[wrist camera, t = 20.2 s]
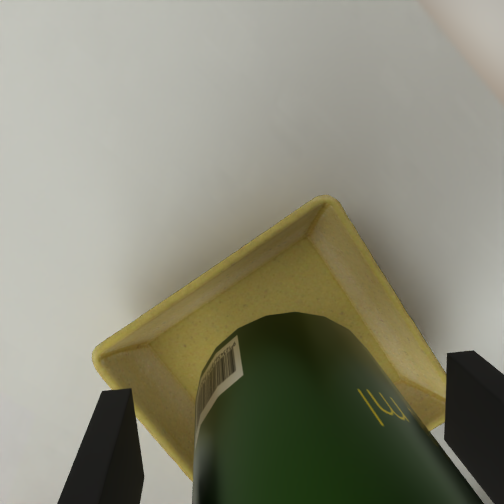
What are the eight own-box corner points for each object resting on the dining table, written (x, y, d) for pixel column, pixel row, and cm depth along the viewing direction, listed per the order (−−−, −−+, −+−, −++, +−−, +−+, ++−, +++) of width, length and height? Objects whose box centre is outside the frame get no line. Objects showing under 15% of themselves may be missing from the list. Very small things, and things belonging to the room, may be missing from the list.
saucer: (96, 328, 16) (80, 357, 14) (314, 180, 15) (331, 187, 13) (242, 502, 18) (247, 548, 16) (438, 377, 18) (468, 408, 16)
